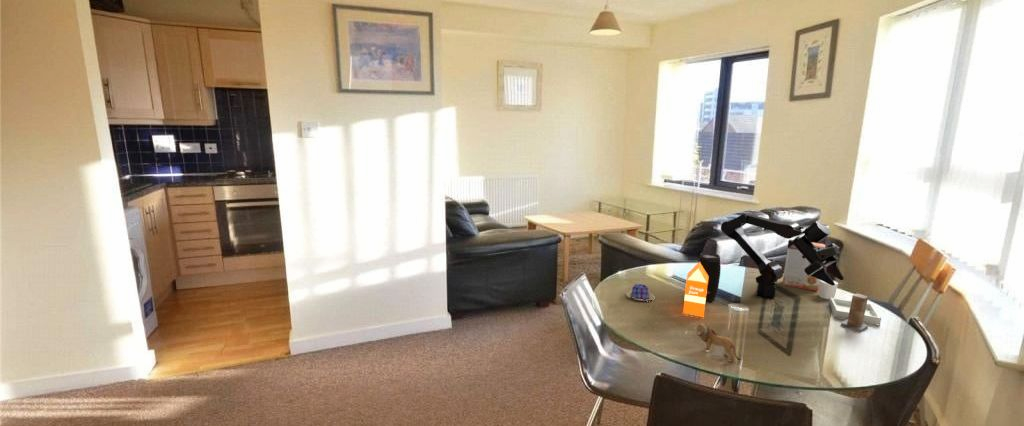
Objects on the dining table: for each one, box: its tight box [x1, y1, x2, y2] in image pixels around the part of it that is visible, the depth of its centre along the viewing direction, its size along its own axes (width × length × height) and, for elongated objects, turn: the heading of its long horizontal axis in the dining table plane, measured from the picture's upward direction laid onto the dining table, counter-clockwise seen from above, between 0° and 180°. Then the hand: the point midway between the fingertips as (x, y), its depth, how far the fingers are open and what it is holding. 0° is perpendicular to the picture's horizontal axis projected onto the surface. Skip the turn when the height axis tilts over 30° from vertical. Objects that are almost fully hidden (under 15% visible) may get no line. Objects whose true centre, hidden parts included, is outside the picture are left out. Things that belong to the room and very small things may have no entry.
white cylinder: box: [817, 279, 839, 300], centre depth 197 cm, size 7×7×7 cm
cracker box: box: [782, 242, 826, 292], centre depth 206 cm, size 14×6×21 cm, turn 58°
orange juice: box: [682, 262, 709, 318], centre depth 179 cm, size 8×9×20 cm
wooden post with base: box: [840, 292, 869, 333], centre depth 169 cm, size 6×6×12 cm
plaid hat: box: [631, 283, 655, 302], centre depth 194 cm, size 12×12×5 cm
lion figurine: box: [695, 322, 742, 362], centre depth 150 cm, size 15×5×9 cm, turn 51°
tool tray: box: [829, 297, 882, 326], centre depth 181 cm, size 14×14×3 cm
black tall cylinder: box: [697, 252, 722, 303], centre depth 191 cm, size 9×9×20 cm
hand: (838, 282), depth 174 cm, fingers open, 9 cm apart
